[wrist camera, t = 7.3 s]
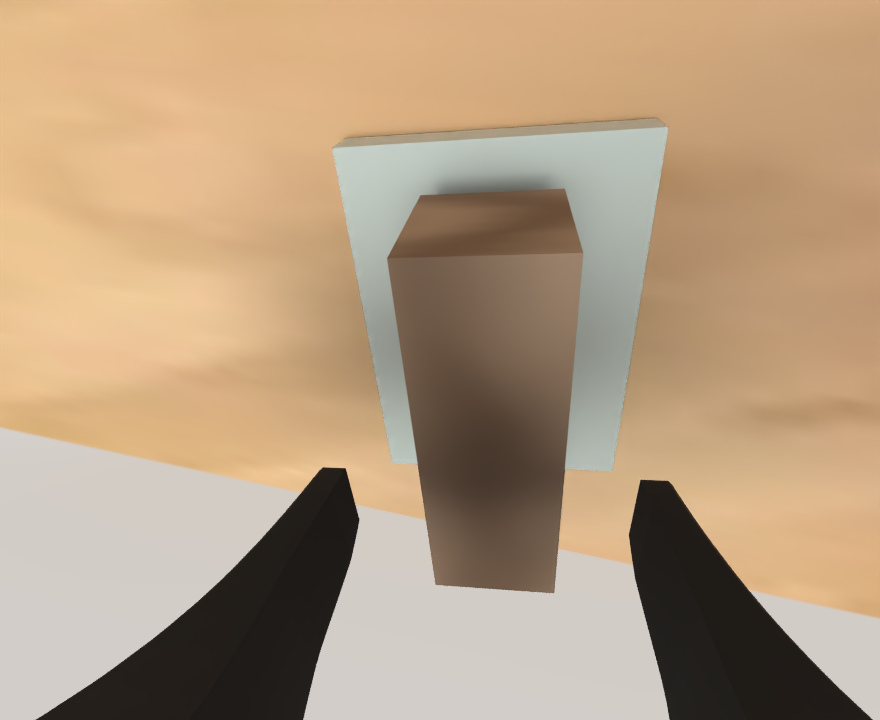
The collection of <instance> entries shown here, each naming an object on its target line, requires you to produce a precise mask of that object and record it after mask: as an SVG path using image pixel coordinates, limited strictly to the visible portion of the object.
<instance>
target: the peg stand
mask: <svg viewBox="0 0 880 720" xmlns="http://www.w3.org/2000/svg"><path fill="white" fill-rule="evenodd" d="M667 133H668V126H666V125H665V124H664V123H662V122H661V121H659V120H658V119H657V118H651V119H635V120H620V121H605V122H589V123H574V124H559V125H543V126H528V127H513V128H497V129H482V130H466V131H451V132H436V133H420V134H405V135H390V136H374V137H359V138H345V139H344V140H343V141H341V142H340V143H338V144H337V145H336V146H334V147H333V148H332V149H333V155H334V160H335V165H336V170H337V176H338V181H339V186H340V192H341V197H342V202H343V207H344V213H345V218H346V223H347V228H348V234H349V239H350V244H351V249H352V255H353V260H354V265H355V270H356V276H357V281H358V286H359V291H360V297H361V302H362V307H363V313H364V318H365V323H366V328H367V334H368V339H369V344H370V349H371V355H372V360H373V365H374V370H375V376H376V381H377V386H378V391H379V397H380V402H381V407H382V413H383V418H384V423H385V428H386V434H387V439H388V444H389V449H390V455H391V460H392V463H396V464H418V463H417V456H416V450H415V443H414V436H413V429H412V423H411V416H410V409H409V403H408V396H407V389H406V383H405V376H404V369H403V362H402V356H401V349H400V342H399V336H398V329H397V322H396V316H395V309H394V302H393V296H392V289H391V282H390V275H389V269H388V262H387V257H388V255H389V254H390V252H391V250H392V248H393V246H394V244H395V242H396V240H397V238H398V237H399V235H400V233H401V231H402V229H403V227H404V225H405V223H406V221H407V220H408V218H409V216H410V214H411V212H412V210H413V208H414V206H415V204H416V203H417V201H418V199H419V197H420V195H437V194H459V193H481V192H502V191H524V190H546V189H565V191H566V194H567V198H568V201H569V205H570V208H571V212H572V215H573V219H574V222H575V226H576V229H577V232H578V236H579V239H580V243H581V246H582V250H583V264H582V275H581V287H580V298H579V310H578V322H577V333H576V345H575V357H574V368H573V380H572V391H571V403H570V415H569V426H568V438H567V450H566V461H565V469H567V470H596V471H613V465H614V458H615V452H616V446H617V440H618V434H619V428H620V422H621V415H622V409H623V403H624V397H625V391H626V385H627V379H628V372H629V366H630V360H631V354H632V348H633V342H634V336H635V329H636V323H637V317H638V311H639V305H640V299H641V293H642V286H643V280H644V274H645V268H646V262H647V256H648V250H649V243H650V237H651V231H652V225H653V219H654V213H655V207H656V200H657V194H658V188H659V182H660V176H661V170H662V164H663V157H664V151H665V145H666V139H667Z"/></svg>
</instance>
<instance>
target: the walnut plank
mask: <svg viewBox="0 0 880 720" xmlns="http://www.w3.org/2000/svg"><path fill="white" fill-rule="evenodd" d="M387 262H388V269H389V275H390V282H391V289H392V296H393V302H394V309H395V316H396V322H397V329H398V336H399V342H400V349H401V356H402V362H403V369H404V376H405V383H406V389H407V396H408V403H409V409H410V416H411V423H412V429H413V436H414V443H415V450H416V456H417V463H418V470H419V476H420V483H421V490H422V496H423V503H424V510H425V517H426V523H427V530H428V536H429V543H430V550H431V557H432V563H433V570H434V577H435V583H436V585H446V586H460V587H475V588H489V589H502V590H516V591H530V592H545V593H554V589H555V577H556V566H557V554H558V543H559V531H560V519H561V508H562V496H563V484H564V473H565V461H566V450H567V438H568V426H569V415H570V403H571V391H572V380H573V368H574V357H575V345H576V333H577V322H578V310H579V298H580V287H581V275H582V264H583V250H582V246H581V243H580V239H579V236H578V232H577V229H576V226H575V222H574V219H573V215H572V212H571V208H570V205H569V201H568V198H567V194H566V191H565V189H546V190H524V191H502V192H481V193H459V194H437V195H420V197H419V199H418V201H417V203H416V204H415V206H414V208H413V210H412V212H411V214H410V216H409V218H408V220H407V221H406V223H405V225H404V227H403V229H402V231H401V233H400V235H399V237H398V238H397V240H396V242H395V244H394V246H393V248H392V250H391V252H390V254H389V255H388V257H387Z"/></svg>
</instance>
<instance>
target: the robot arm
mask: <svg viewBox="0 0 880 720" xmlns="http://www.w3.org/2000/svg"><path fill="white" fill-rule="evenodd" d="M358 524H359V517H358V513H357V509H356V506H355V502H354V498H353V494H352V491H351V487H350V483H349V479H348V476H347V472H346V468H322V469H321V470H320V471H319V472H318V473H317V474H316V476H315V477H314V478H313V479H312V480H311V482H310V483H309V484H308V485H307V487H306V488H305V489H304V490H303V491H302V493H301V494H300V495H299V496H298V497H297V499H296V500H295V501H294V502H293V503H292V505H291V506H290V507H289V508H288V509H287V510H286V512H285V513H284V514H283V515H282V516H281V517H280V518H279V520H278V521H277V522H276V523H275V524H274V525H273V526H272V528H271V529H270V530H269V531H268V532H267V533H266V534H265V535H264V537H263V538H262V539H261V540H260V541H259V542H258V543H257V544H256V545H255V546H254V547H253V548H252V549H251V550H250V551H249V553H247V555H246V556H245V557H244V558H243V559H242V560H241V561H240V562H239V563H238V564H237V565H236V566H235V567H234V568H233V569H232V570H231V571H230V572H229V573H228V574H227V575H226V576H225V577H224V578H223V579H222V580H221V581H220V582H219V583H217V585H215V586H214V587H213V588H212V589H211V590H210V591H209V592H208V593H207V594H206V595H204V596H203V597H202V598H201V599H200V600H199V601H198V602H197V603H196V604H194V605H193V606H192V607H191V608H190V609H188V610H187V611H186V612H185V613H184V614H183V615H181V616H180V617H179V618H178V619H177V620H175V621H174V622H173V623H172V624H171V625H170V626H168V627H167V628H166V629H165V630H164V631H162V632H161V633H160V634H159V635H157V636H156V637H155V638H153V639H152V640H151V641H150V642H148V643H147V644H146V645H144V646H143V647H141V648H140V649H139V650H138V651H136V652H135V653H134V654H132V655H131V656H130V657H128V658H127V659H125V660H124V661H123V662H121V663H120V664H119V665H117V666H116V667H115V668H113V669H112V670H110V671H109V672H108V673H106V674H105V675H103V676H102V677H101V678H99V679H98V680H96V681H95V682H93V683H92V684H90V685H89V686H87V687H86V688H84V689H83V690H81V691H80V692H78V693H77V694H75V695H73V696H72V697H71V698H69V699H67V700H66V701H64V702H63V703H61V704H60V705H58V706H57V707H55V708H54V709H52V710H51V711H49V712H48V713H46V714H44V715H43V716H41V717H39V718H38V719H36V720H303V718H304V713H305V709H306V705H307V701H308V696H309V692H310V688H311V684H312V680H313V676H314V672H315V668H316V664H317V660H318V657H319V653H320V650H321V647H322V644H323V641H324V638H325V635H326V632H327V629H328V626H329V623H330V621H331V617H332V614H333V611H334V609H335V606H336V603H337V600H338V597H339V594H340V591H341V588H342V585H343V582H344V579H345V576H346V573H347V570H348V567H349V564H350V561H351V557H352V553H353V548H354V544H355V539H356V534H357V529H358ZM629 539H630V546H631V554H632V561H633V567H634V574H635V579H636V583H637V587H638V591H639V595H640V599H641V603H642V606H643V610H644V614H645V618H646V622H647V625H648V630H649V633H650V637H651V641H652V645H653V649H654V652H655V656H656V660H657V664H658V667H659V671H660V674H661V679H662V683H663V688H664V692H665V697H666V701H667V707H668V713H669V719H670V720H872V719H871V718H870V717H869V716H868V715H867V714H866V713H865V712H864V711H863V710H862V709H861V708H860V707H858V706H857V705H856V704H855V703H854V702H853V701H852V700H851V699H850V698H849V697H848V696H847V695H846V694H845V693H844V692H842V691H841V690H840V689H839V688H838V687H837V686H836V685H835V684H834V683H833V682H832V681H831V680H830V679H829V678H828V677H827V676H826V675H825V674H824V673H823V672H822V671H821V670H820V669H819V667H817V666H816V664H815V663H814V662H813V661H812V660H811V659H810V658H809V657H808V656H807V655H806V654H805V653H804V652H803V651H802V650H801V649H800V648H799V647H798V646H797V645H796V643H795V642H794V641H793V640H792V639H791V638H790V637H789V636H788V635H787V634H786V633H785V632H784V631H783V629H782V628H781V627H780V626H779V625H778V624H777V623H776V622H775V621H774V619H773V618H772V617H771V616H770V615H769V614H768V613H767V612H766V610H765V609H764V608H763V607H762V606H761V604H760V603H759V602H758V601H757V599H756V598H755V597H754V596H753V595H752V594H751V592H750V591H749V590H748V589H747V587H746V586H745V585H744V584H743V583H742V581H741V580H740V579H739V578H738V576H737V575H736V574H735V573H734V571H733V570H732V569H731V567H730V566H729V565H728V563H727V562H726V561H725V559H724V558H723V557H722V556H721V554H720V553H719V552H718V550H717V549H716V548H715V546H714V545H713V544H712V542H711V541H710V540H709V538H708V537H707V535H706V534H705V533H704V531H703V530H702V528H701V527H700V526H699V524H698V523H697V521H696V520H695V519H694V517H693V516H692V514H691V513H690V511H689V510H688V508H687V507H686V505H685V504H684V502H683V501H682V499H681V498H680V496H679V495H678V493H677V492H676V490H675V488H674V487H673V485H672V484H671V483H670V482H669V481H655V480H640V485H639V490H638V494H637V499H636V504H635V509H634V513H633V518H632V523H631V528H630V532H629Z"/></svg>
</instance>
